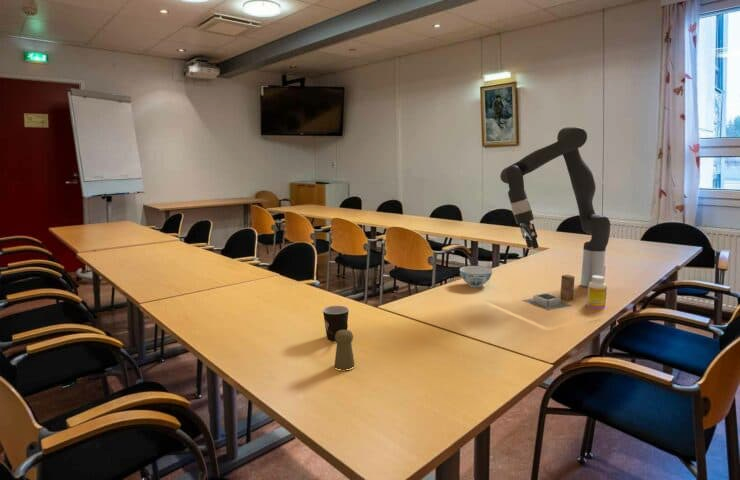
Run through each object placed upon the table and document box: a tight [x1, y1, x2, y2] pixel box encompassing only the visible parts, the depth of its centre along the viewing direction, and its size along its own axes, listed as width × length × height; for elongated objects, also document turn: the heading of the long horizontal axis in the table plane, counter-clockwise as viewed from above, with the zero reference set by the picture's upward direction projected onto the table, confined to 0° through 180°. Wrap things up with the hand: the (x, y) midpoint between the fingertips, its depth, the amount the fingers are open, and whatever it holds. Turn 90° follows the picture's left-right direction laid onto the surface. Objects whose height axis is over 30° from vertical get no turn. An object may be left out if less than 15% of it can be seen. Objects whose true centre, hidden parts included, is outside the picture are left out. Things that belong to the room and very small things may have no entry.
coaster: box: [522, 297, 573, 311], centre depth 188 cm, size 13×14×1 cm
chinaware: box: [459, 265, 493, 289], centre depth 217 cm, size 15×15×8 cm
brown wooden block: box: [559, 274, 576, 302], centre depth 192 cm, size 4×4×11 cm
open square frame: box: [529, 292, 566, 308], centre depth 188 cm, size 10×10×3 cm
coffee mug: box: [322, 305, 350, 342], centre depth 154 cm, size 12×9×10 cm
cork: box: [334, 329, 356, 370], centre depth 134 cm, size 6×6×11 cm
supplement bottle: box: [586, 275, 608, 309], centre depth 184 cm, size 7×7×13 cm
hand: (533, 247), depth 197 cm, fingers open, 8 cm apart
